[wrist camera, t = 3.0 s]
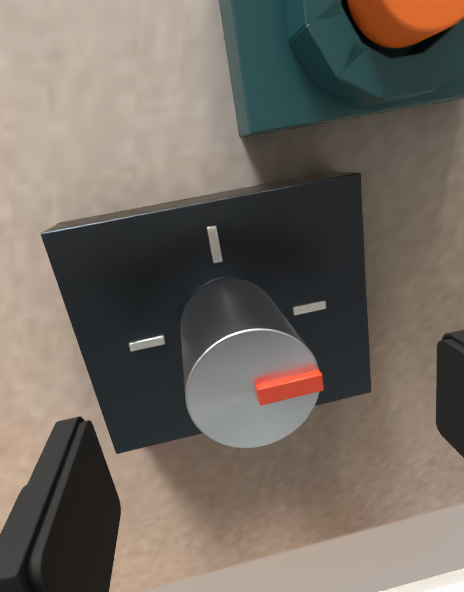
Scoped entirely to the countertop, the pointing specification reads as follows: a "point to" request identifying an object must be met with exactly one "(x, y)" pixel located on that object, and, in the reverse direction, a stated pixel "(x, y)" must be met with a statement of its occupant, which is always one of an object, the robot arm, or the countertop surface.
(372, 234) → the countertop surface
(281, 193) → the control panel
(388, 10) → the button
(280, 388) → the dial
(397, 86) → the button block
